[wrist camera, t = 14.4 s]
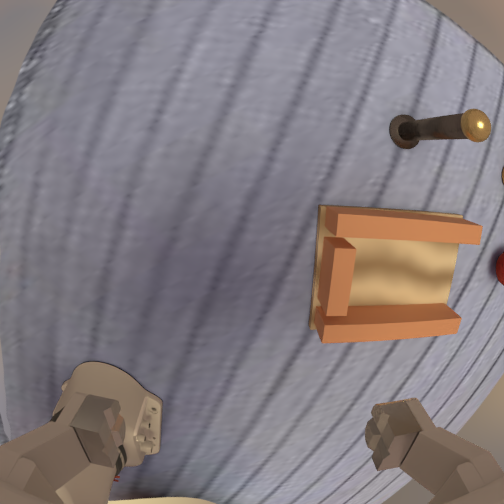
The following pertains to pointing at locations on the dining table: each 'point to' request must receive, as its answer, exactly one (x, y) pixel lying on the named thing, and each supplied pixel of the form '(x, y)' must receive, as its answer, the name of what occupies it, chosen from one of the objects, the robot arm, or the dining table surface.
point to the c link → (342, 267)
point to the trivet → (392, 268)
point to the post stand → (440, 128)
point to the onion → (500, 268)
